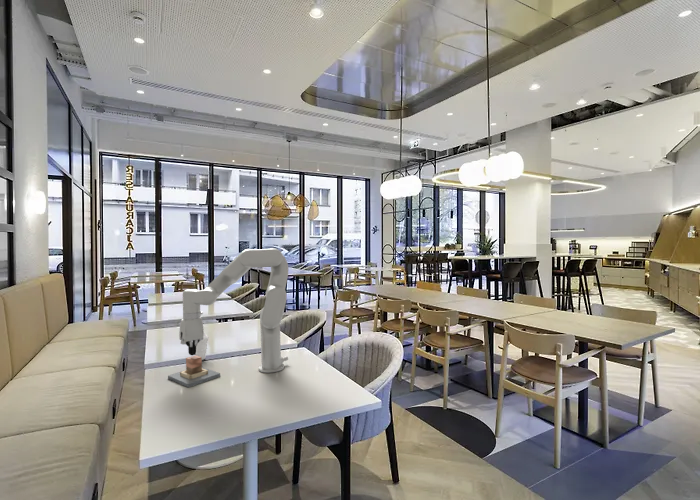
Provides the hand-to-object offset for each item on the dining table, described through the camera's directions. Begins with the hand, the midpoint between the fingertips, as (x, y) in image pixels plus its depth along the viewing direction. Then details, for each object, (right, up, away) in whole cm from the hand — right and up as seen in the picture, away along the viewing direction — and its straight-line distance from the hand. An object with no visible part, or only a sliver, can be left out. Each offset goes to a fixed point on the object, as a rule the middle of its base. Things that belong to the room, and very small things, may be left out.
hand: (192, 354), depth 178 cm
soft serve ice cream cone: (-7, -10, +28) cm, 31 cm away
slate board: (+1, -11, +1) cm, 11 cm away
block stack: (+1, -10, +1) cm, 10 cm away
